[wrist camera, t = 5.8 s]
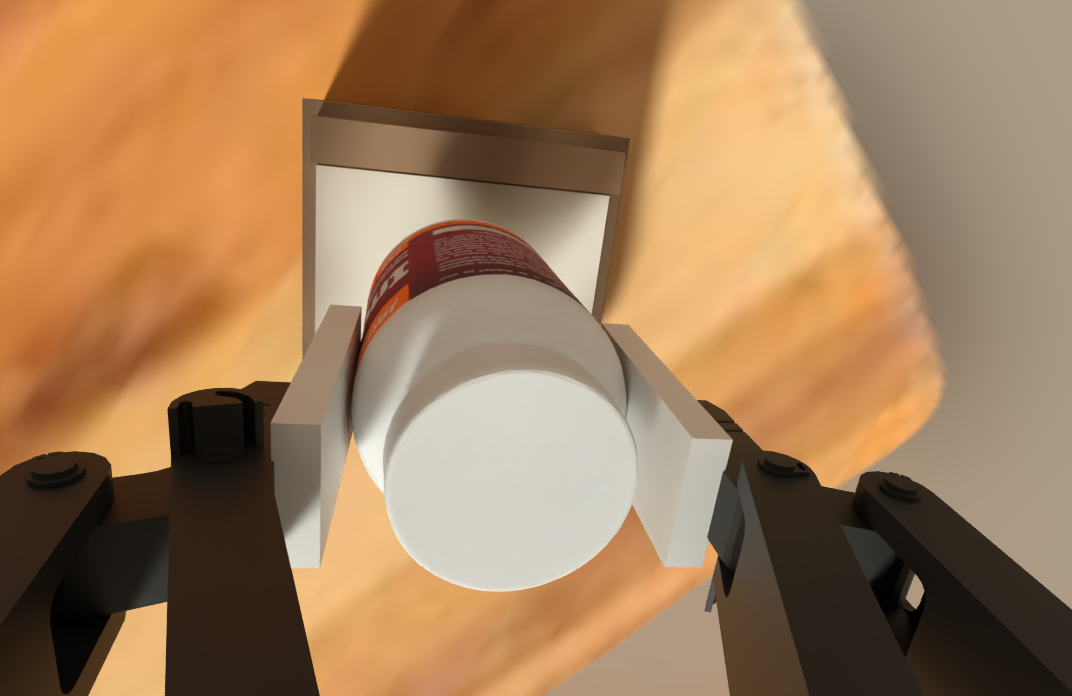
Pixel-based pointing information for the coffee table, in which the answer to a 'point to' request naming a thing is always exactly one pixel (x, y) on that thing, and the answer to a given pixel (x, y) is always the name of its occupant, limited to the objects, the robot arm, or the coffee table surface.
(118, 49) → the coffee table surface
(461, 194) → the brown square open box
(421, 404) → the pill bottle
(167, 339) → the coffee table surface
